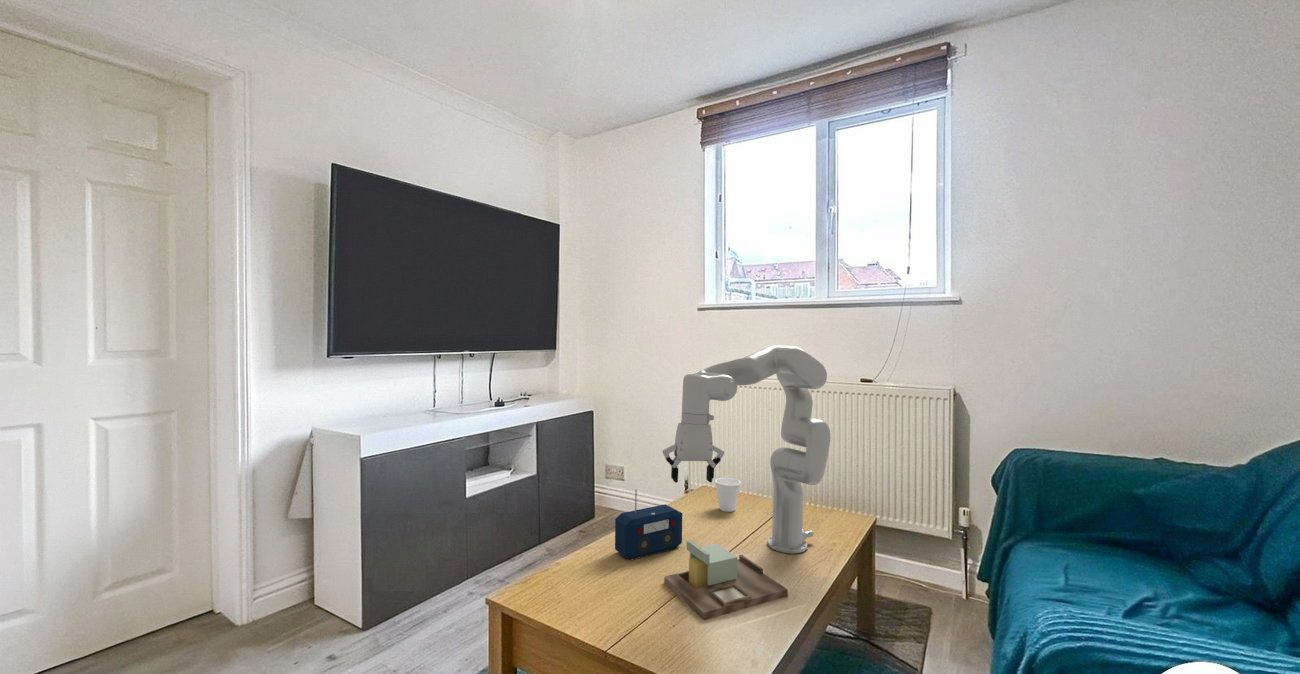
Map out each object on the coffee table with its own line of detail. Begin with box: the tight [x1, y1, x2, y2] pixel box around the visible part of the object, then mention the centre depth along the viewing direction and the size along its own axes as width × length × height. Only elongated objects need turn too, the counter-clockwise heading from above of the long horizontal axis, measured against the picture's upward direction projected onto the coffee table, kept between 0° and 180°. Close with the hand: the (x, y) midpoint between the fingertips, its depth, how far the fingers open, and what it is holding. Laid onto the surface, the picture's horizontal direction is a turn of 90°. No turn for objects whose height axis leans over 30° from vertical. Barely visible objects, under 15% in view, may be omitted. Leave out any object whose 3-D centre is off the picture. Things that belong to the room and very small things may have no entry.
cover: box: [686, 539, 738, 586], centre depth 144 cm, size 10×10×8 cm
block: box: [688, 557, 709, 589], centre depth 142 cm, size 4×4×7 cm
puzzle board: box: [663, 554, 789, 621], centre depth 140 cm, size 26×20×3 cm
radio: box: [614, 488, 683, 560], centre depth 164 cm, size 21×9×20 cm, turn 122°
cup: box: [714, 477, 742, 513], centre depth 202 cm, size 10×10×11 cm
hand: (692, 481), depth 143 cm, fingers open, 9 cm apart
